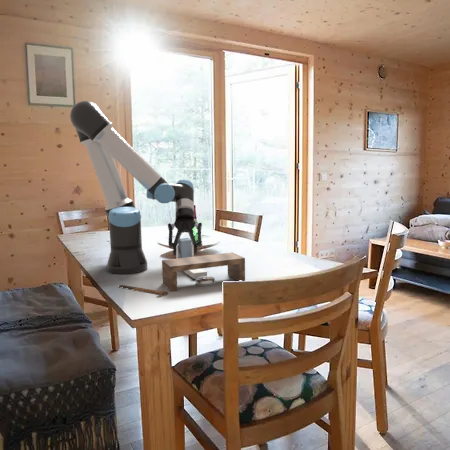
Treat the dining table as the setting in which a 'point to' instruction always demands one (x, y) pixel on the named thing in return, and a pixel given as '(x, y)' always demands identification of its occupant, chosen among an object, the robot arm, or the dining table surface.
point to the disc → (205, 280)
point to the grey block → (186, 251)
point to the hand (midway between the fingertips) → (185, 261)
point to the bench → (202, 266)
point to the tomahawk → (146, 290)
